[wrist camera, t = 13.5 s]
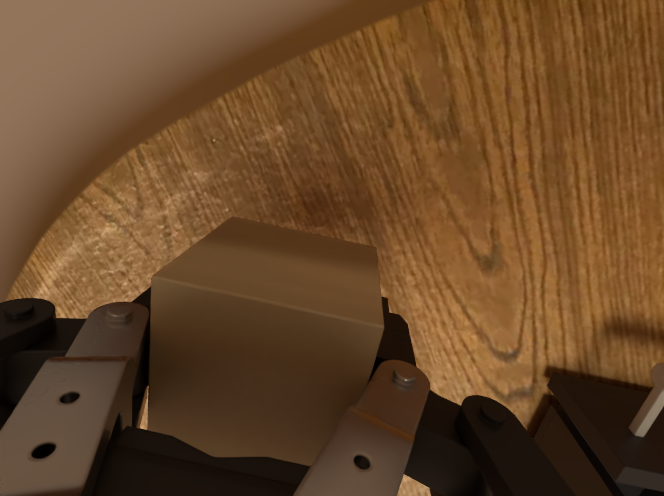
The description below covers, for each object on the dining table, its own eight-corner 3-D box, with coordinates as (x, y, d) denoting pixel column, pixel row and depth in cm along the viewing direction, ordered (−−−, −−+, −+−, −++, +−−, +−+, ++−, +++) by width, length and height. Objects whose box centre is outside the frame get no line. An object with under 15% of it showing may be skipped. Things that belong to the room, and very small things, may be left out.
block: (231, 215, 12) (149, 275, 8) (377, 246, 12) (385, 326, 8) (219, 339, 14) (145, 450, 9) (346, 367, 14) (337, 493, 9)
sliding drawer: (581, 314, 25) (672, 394, 18) (742, 348, 25) (899, 442, 18) (490, 498, 32) (530, 613, 24) (620, 525, 32) (699, 649, 24)
